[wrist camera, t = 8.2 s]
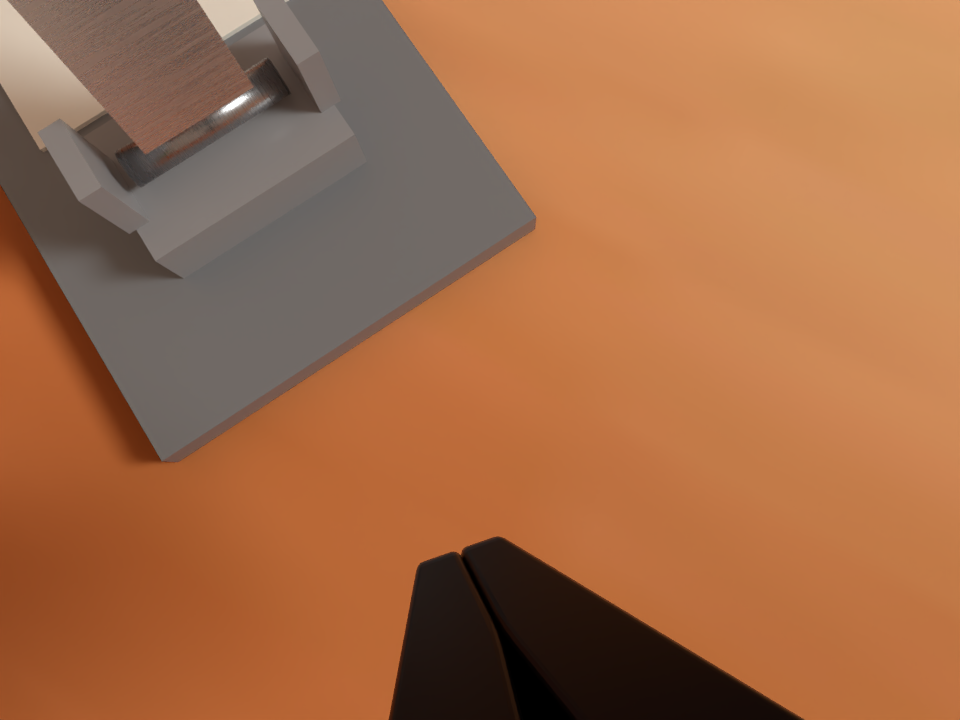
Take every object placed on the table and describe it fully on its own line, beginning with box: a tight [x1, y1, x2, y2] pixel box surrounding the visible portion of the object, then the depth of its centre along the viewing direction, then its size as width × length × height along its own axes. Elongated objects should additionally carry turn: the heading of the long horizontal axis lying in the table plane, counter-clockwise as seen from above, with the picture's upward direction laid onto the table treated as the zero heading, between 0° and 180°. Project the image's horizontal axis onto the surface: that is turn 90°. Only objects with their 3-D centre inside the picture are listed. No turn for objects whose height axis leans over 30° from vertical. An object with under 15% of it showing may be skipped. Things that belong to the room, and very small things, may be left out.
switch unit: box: [0, 0, 536, 462], centre depth 20 cm, size 16×12×5 cm
